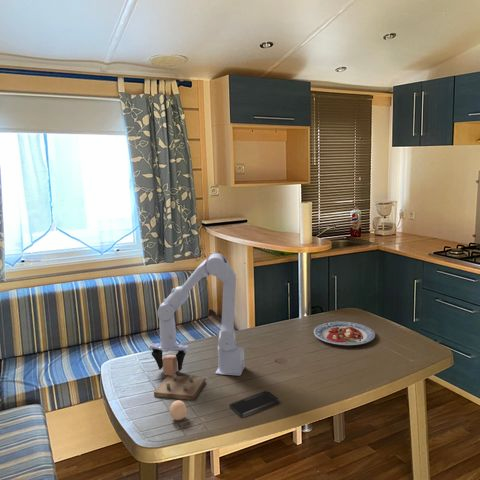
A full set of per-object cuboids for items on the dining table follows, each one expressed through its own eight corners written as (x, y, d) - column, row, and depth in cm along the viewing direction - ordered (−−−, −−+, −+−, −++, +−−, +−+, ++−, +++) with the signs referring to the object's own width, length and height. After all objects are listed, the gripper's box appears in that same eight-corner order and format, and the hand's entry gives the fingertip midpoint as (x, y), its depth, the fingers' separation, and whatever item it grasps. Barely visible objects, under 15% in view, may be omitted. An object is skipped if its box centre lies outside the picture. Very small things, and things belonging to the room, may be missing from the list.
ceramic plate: (313, 325, 203) (313, 319, 202) (369, 326, 199) (370, 320, 199) (314, 348, 178) (314, 342, 177) (379, 350, 174) (379, 343, 174)
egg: (189, 421, 130) (187, 403, 129) (172, 425, 128) (170, 407, 127) (185, 412, 135) (183, 395, 134) (168, 416, 133) (167, 398, 132)
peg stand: (204, 382, 153) (204, 372, 153) (193, 400, 142) (193, 390, 141) (168, 379, 157) (167, 370, 156) (154, 396, 145) (153, 386, 145)
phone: (280, 400, 138) (240, 415, 131) (280, 403, 138) (240, 419, 131) (266, 390, 145) (227, 404, 137) (266, 393, 145) (227, 407, 138)
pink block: (177, 370, 163) (176, 355, 162) (173, 375, 159) (172, 360, 158) (167, 369, 164) (166, 354, 163) (163, 374, 160) (162, 359, 159)
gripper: (145, 337, 157) (147, 372, 159) (182, 339, 154) (185, 375, 156) (153, 330, 164) (155, 363, 166) (189, 332, 160) (191, 366, 163)
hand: (170, 368), depth 161 cm, fingers open, 7 cm apart
